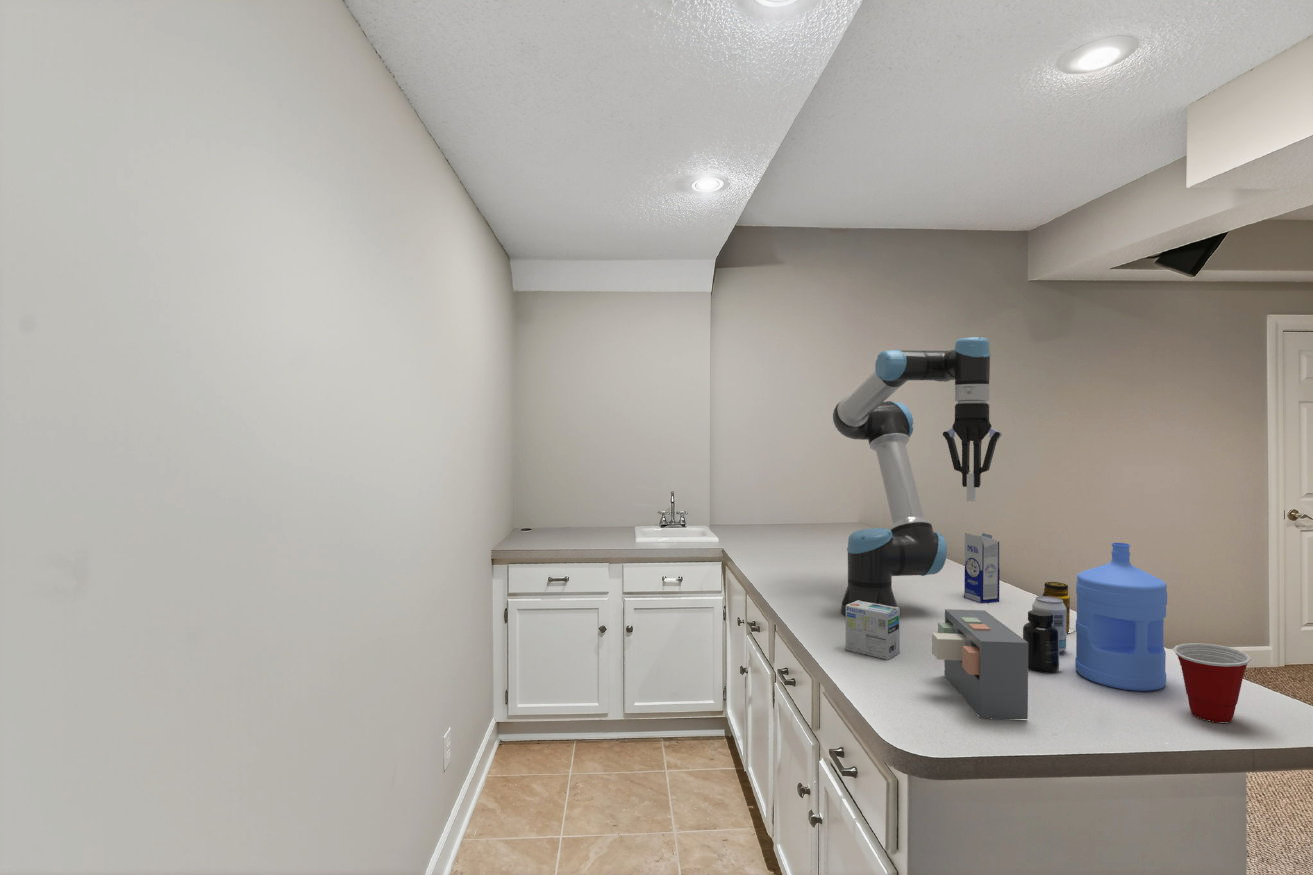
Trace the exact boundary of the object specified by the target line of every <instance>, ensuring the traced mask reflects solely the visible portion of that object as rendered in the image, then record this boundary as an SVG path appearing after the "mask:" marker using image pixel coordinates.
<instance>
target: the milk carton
mask: <svg viewBox="0 0 1313 875" xmlns="http://www.w3.org/2000/svg"><path fill="white" fill-rule="evenodd" d="M1000 543H1001V541H1000V540H997V539H993V535H992V534H987V533H985V532H982V533H981V535H977V534H973V533H964V591H963V592H964V596H963V597H964V599H967V600H970V601H972V602H975V603H979V604H987V603H988V604H989V603H999V602H1000V580H1001V578H1000V576H1001V575H1000V574H1001V572H1000V571H1001V570H1000V561H1001V560H1000V558H1001V556H1000V555H1001V554H1000V553H1001V550H1000V549H1001V544H1000Z"/></svg>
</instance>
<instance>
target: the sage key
mask: <svg viewBox="0 0 1313 875" xmlns="http://www.w3.org/2000/svg"><path fill="white" fill-rule="evenodd" d="M937 633H949V634H953V623H945V622H937Z"/></svg>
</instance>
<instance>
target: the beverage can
mask: <svg viewBox="0 0 1313 875" xmlns="http://www.w3.org/2000/svg"><path fill="white" fill-rule="evenodd" d="M1031 609H1032V610H1039V611H1046V612H1050V613H1052V614H1053V620H1054V623H1053V624H1052V625H1053V626H1055V627H1056V628H1057V629H1058V631H1059V654H1061V653H1062V652H1063V651H1066V649H1067V634H1066V607H1065V605H1064V603H1063V600H1062V599H1059V598H1055V597H1048V596H1043V595H1042V596H1040V595H1039V596H1036V597H1035V600H1034V601H1033V602H1032V607H1031Z"/></svg>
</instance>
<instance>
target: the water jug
mask: <svg viewBox="0 0 1313 875" xmlns="http://www.w3.org/2000/svg"><path fill="white" fill-rule="evenodd" d="M1111 546H1112V550H1111V561H1110V562H1108V563H1105V564H1102V565H1099V566H1096V567H1093V568H1089V569H1086V570H1083V571H1080V572H1079V573H1077V576H1076V579H1077V580H1076V587H1075V591H1076V592H1075V593H1076V620H1075V630H1076V631H1075V633H1076V634H1075V637H1076V640H1075V641H1076V647H1075V648H1076V649H1075V655H1076V656H1075V658H1074V662H1075V664H1074V666H1075V670H1076V672H1077V673H1078V674H1080V675H1081V676H1082V677H1083V678H1085V679H1087V680H1089V681H1091V682H1093V683H1096V684H1099V685H1103V686H1106V687H1110V688H1114V689H1119V690H1125V691H1126V690H1127V691H1133V692H1134V691H1136V692H1151V691H1158V690H1160V689H1162V688H1164V686H1166V684H1167V672H1166V660H1167V658H1166V656H1167V653H1166V652H1167V651H1166V650H1165V645H1164V624H1165V622H1164V619H1165V618H1166V617H1167V605H1168V591H1167V588H1168V587H1167V583H1166V581H1164V580H1162V579H1160V578H1159V577H1156V576H1154V575H1152V574H1151V573H1149V572H1146V571H1145V570H1143V569H1140V568H1139V567H1136V566H1135V565H1132V563H1131V562H1130V556H1131V552H1130V547H1131V544H1130V543H1125V542H1124V543H1123V542H1111Z"/></svg>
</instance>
